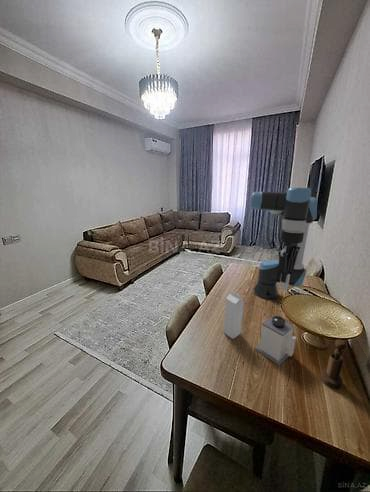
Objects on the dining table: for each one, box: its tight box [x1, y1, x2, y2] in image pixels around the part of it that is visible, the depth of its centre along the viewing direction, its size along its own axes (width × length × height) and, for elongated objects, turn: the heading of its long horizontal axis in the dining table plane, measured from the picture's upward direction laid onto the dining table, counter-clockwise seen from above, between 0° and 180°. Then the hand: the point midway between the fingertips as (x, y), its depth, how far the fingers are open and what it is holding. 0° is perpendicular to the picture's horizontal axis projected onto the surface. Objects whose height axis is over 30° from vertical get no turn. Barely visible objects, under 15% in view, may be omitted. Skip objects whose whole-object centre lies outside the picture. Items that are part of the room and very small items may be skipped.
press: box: [255, 315, 297, 367], centre depth 89 cm, size 11×13×14 cm
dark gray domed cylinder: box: [271, 315, 286, 328], centre depth 89 cm, size 6×6×14 cm
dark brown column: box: [320, 338, 346, 390], centre depth 76 cm, size 7×6×18 cm
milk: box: [222, 290, 245, 340], centre depth 100 cm, size 6×6×22 cm
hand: (283, 288), depth 84 cm, fingers closed
